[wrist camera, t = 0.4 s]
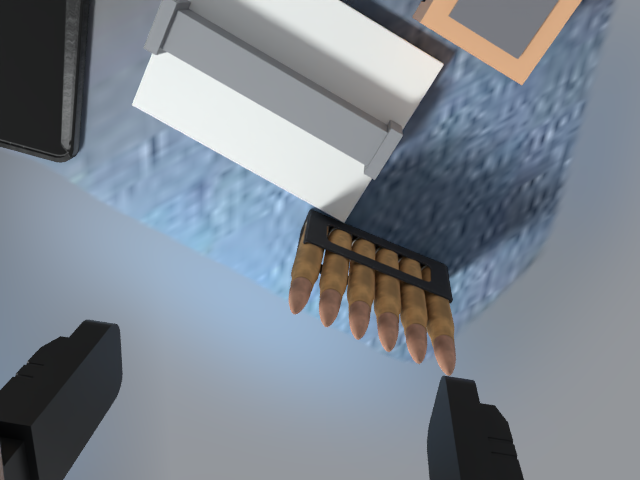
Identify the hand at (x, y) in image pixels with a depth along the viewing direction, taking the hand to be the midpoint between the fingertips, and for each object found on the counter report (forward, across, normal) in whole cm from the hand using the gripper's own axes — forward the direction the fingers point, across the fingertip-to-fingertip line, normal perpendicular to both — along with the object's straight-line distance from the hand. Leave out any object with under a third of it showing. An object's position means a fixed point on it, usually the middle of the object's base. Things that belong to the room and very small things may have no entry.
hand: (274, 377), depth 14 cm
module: (+26, -7, -9) cm, 28 cm away
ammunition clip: (+26, -3, +8) cm, 27 cm away
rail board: (+25, +4, -2) cm, 26 cm away
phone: (+26, +21, -3) cm, 34 cm away
